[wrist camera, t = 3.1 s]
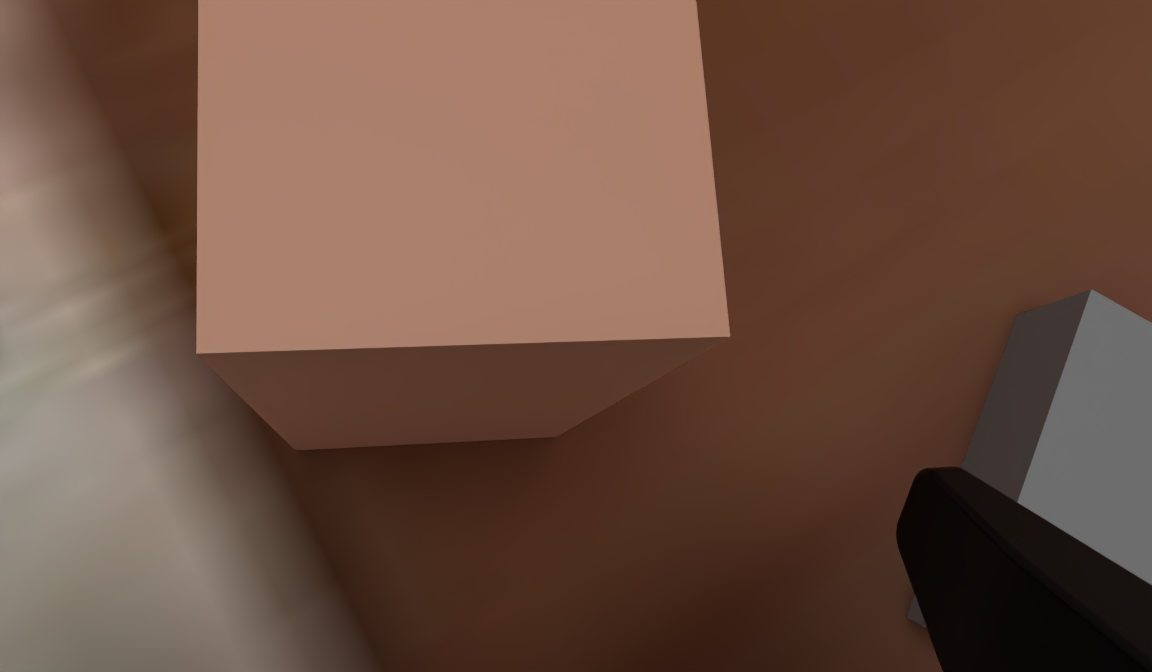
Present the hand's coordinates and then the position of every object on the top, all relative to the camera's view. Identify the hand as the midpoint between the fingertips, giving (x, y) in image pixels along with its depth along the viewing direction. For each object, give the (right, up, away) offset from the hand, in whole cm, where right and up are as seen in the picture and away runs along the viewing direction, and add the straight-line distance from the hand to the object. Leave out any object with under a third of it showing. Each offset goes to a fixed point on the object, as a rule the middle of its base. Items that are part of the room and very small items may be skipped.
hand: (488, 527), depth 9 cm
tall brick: (-2, +2, +12) cm, 12 cm away
